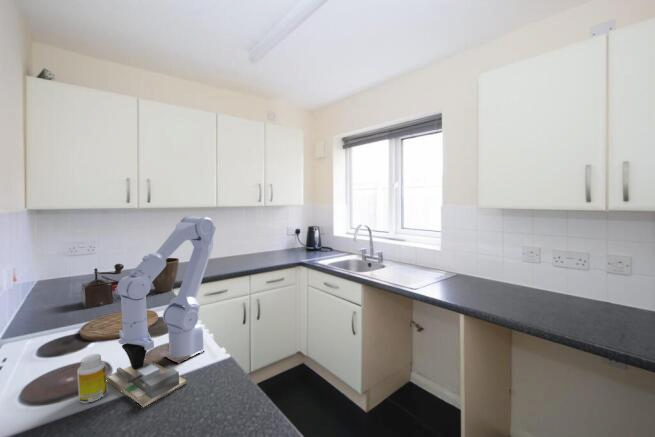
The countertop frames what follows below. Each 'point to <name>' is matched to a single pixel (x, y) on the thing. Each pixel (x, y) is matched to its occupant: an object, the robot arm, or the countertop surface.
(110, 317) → the trivet
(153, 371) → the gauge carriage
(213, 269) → the countertop surface
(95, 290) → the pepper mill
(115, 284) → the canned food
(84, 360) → the supplement bottle
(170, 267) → the plant pot
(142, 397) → the gauge base
